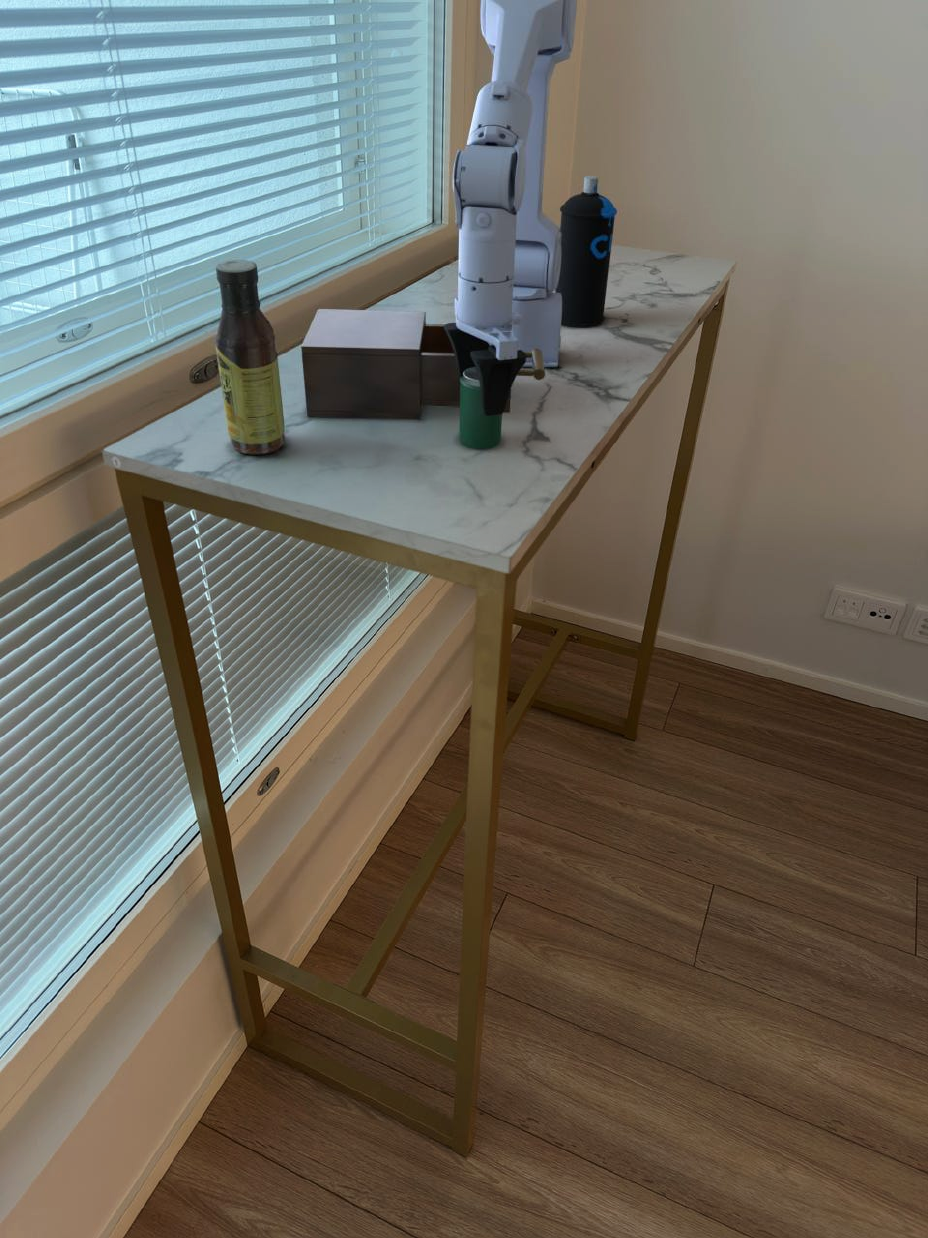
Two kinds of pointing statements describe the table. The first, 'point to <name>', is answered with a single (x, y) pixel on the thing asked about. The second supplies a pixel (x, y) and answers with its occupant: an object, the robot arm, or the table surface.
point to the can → (476, 416)
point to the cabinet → (363, 364)
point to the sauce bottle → (248, 363)
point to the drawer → (453, 369)
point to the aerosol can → (585, 255)
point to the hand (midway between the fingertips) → (481, 400)
